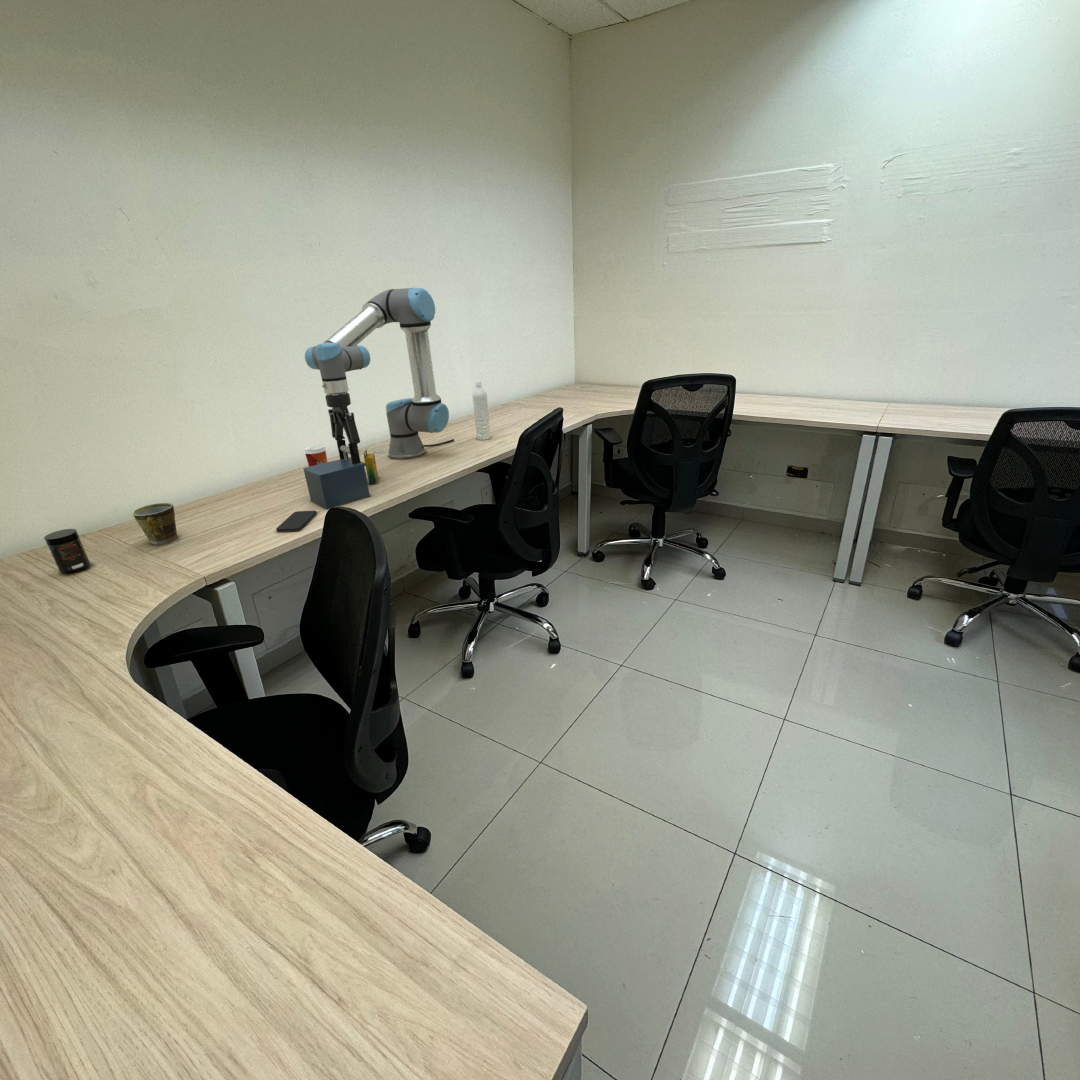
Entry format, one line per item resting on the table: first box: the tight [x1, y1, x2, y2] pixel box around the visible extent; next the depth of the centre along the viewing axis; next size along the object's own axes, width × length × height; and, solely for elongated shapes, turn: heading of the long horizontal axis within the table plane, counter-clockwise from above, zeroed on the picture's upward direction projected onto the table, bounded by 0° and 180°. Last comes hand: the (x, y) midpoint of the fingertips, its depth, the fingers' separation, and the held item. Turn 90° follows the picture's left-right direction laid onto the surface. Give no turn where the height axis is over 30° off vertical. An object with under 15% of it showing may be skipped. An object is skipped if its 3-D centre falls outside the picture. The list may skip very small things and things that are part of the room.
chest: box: [303, 466, 371, 510], centre depth 187 cm, size 16×13×11 cm
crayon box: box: [363, 448, 379, 485], centre depth 203 cm, size 7×3×12 cm, turn 9°
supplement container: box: [43, 528, 91, 575], centre depth 146 cm, size 7×7×10 cm
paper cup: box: [303, 444, 328, 467], centre depth 203 cm, size 8×8×14 cm
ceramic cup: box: [132, 502, 178, 546], centre depth 160 cm, size 13×10×10 cm
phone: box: [275, 510, 317, 532], centre depth 171 cm, size 7×1×15 cm
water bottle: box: [472, 381, 492, 441], centre depth 252 cm, size 9×6×25 cm
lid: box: [302, 445, 366, 477], centre depth 184 cm, size 16×13×6 cm
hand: (350, 461), depth 188 cm, fingers closed on lid, 8 cm apart
